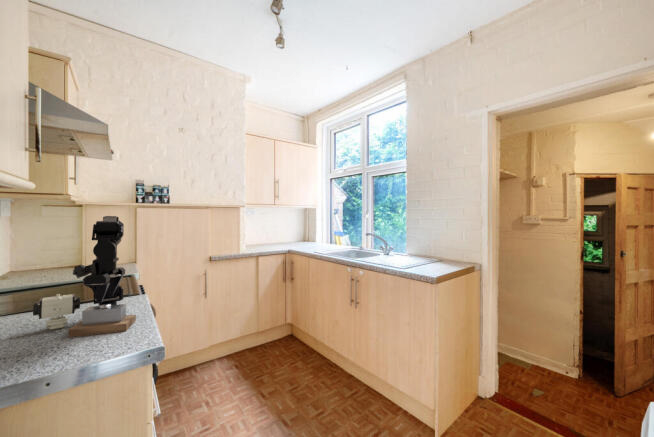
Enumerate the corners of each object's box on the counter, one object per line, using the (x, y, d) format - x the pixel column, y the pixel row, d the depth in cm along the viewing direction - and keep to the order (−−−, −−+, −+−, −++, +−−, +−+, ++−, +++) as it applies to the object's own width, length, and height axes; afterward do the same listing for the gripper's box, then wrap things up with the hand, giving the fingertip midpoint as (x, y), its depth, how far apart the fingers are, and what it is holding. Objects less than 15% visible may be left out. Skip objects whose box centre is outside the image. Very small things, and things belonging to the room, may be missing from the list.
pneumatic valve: (33, 330, 93) (34, 295, 93) (79, 321, 101) (80, 290, 101) (31, 335, 89) (33, 299, 89) (79, 325, 97) (80, 293, 97)
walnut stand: (83, 326, 97) (83, 319, 97) (135, 321, 102) (135, 314, 103) (68, 337, 88) (68, 329, 88) (126, 330, 93) (126, 323, 93)
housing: (125, 317, 99) (126, 301, 100) (120, 322, 95) (121, 305, 95) (89, 320, 96) (89, 304, 96) (81, 325, 91) (82, 308, 91)
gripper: (91, 253, 101) (89, 294, 101) (62, 259, 84) (61, 309, 84) (126, 253, 105) (125, 292, 105) (105, 258, 88) (104, 306, 87)
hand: (105, 299), depth 95 cm, fingers open, 9 cm apart
